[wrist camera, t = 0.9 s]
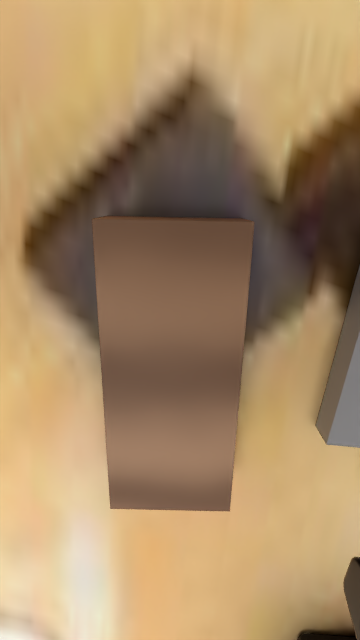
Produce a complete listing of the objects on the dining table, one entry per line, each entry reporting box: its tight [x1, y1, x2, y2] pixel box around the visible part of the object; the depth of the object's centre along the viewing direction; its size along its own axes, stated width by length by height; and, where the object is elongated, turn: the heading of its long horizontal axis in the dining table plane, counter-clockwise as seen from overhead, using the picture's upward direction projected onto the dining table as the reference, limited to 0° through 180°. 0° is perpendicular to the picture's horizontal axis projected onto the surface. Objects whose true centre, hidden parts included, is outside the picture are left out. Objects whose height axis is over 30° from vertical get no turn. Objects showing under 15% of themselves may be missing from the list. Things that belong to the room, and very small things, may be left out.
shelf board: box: [92, 216, 254, 511], centre depth 16 cm, size 14×6×3 cm, turn 179°
